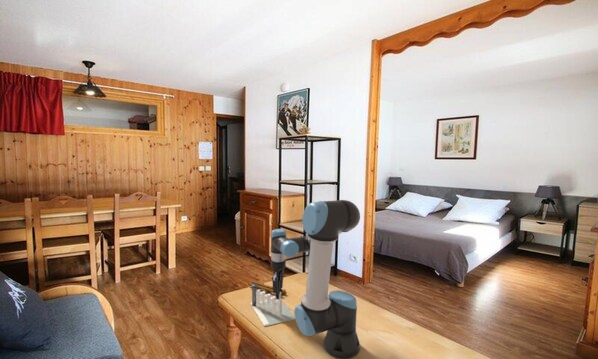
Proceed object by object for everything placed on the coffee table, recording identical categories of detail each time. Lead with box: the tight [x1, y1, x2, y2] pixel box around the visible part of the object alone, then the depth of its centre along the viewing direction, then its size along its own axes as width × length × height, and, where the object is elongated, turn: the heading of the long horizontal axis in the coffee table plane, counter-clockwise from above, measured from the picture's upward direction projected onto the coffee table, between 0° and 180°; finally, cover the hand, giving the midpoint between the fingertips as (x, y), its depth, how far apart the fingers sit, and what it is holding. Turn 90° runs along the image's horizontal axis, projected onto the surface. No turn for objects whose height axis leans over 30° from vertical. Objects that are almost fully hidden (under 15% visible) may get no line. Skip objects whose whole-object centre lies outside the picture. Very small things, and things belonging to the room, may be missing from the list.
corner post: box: [250, 284, 257, 307], centre depth 161 cm, size 3×3×12 cm
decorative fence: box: [247, 280, 287, 297], centre depth 180 cm, size 25×2×10 cm
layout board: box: [249, 298, 296, 327], centre depth 157 cm, size 25×17×1 cm
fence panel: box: [256, 289, 283, 318], centre depth 154 cm, size 18×2×9 cm, turn 49°
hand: (277, 304), depth 154 cm, fingers closed
